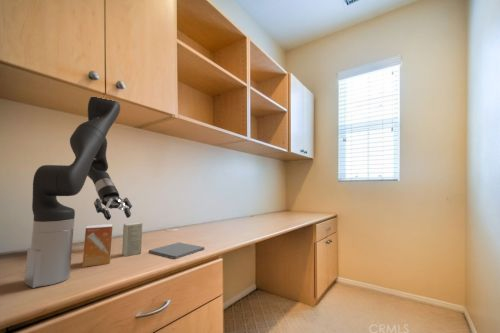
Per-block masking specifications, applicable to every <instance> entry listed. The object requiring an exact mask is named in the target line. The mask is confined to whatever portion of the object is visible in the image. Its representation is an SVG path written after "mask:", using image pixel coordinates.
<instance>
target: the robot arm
mask: <svg viewBox="0 0 500 333" xmlns="http://www.w3.org/2000/svg"><path fill="white" fill-rule="evenodd" d="M116 101H117V100H115V101H112V100H107V99H102V98H97V97H91V96H90V98H89V99H88V104H87V121H84V122H82V123H80V124H79V125H78V126H77V127H76V128H75V130H74V131H73V133H72V134H71V136H70V138H69V145H70V148H71V150H72V152H73V154H74V156H75V159H74V161H73V162H72V163H71V164H69V165H65V164H64V165H63V164H60V165H57V164H56V165H55V164H45V165H41V166H39V167H38V168H37V169H36V170H35V173H34V175H33V180H32V202H31V203H32V204H31V210H32V214H33V220H32V221H33V222H32V233H31V243H30V247H28V248H27V254H26V261H25V262H26V264H25V273H24V274H25V275H24V282H23V283H24V284H25V285H27V286H29V287H30V288H31V289H34V288H39V287H45V286H51V285H55V284H58V283H62V282H64V281H66V280H68V279H69V278H70V276H71V269H72V266H71V265H72V253H73V239H74V227H75V216H76V215H75V214H76V211H75V209H74V208H73V207H69V206H66V205H64V204H62V203H60V202H59V201H58V199H57V197H72V196H76V195H78V194H79V193H80V192H81V190H83V187H84V185H85V182H86V180H87V178H89V179H90V180H91V181H92V183H93V185H94V188H95V191H96V193H97V196H98V198H96V199H95V200H94V202H93V205H94V208H95V211H96V213H98V214H99V213H100V214H101V213H102V215H103V217H104V219H105V220H107V221H110V220H111V218H112V215H111V213H110V211H109V209H111V210H112V209H118V210H120V211H123V213H124V215H125V217H126V219H127V218H130V217H131V215H132V213H131V208H132V207H133V205H132V203H131V201H130V200H129V198H128V197H124V198H121V197H120V193H119V191H118V189H117V187H116V185H115V183H114V181H113V180H112V179H111V176H110V174H109V173H108V172H107V171H108V170H109V164H108V160H107V150H108V149H107V148H108V141H107V140H108V139H107V138H106V137H107V134H108V133H109V131H110V129H111V127H112V126H113V125H114V123H115V121H116V120H117V119H118V117H119V115H120V112H121V105H120V102H118V101H117V102H116ZM102 205H103V206H104V207H103V206H102ZM120 205H121V206H120Z"/></svg>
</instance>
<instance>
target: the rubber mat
mask: <svg viewBox="0 0 500 333" xmlns="http://www.w3.org/2000/svg"><path fill="white" fill-rule="evenodd" d="M204 250H205V246H199V245H195V244H188V243H184V242H176V243H175V242H174V243H170V244H166V245H164V246H159V247H156V248H152V249H149V250H148V253H149V254H152V255H153V254H154V255H158V256H162V257H165V258H170V259H174V260H176V259H180V258H183V257H187V256H189V255H192V254H195V253H198V252H202V251H204Z"/></svg>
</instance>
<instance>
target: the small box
mask: <svg viewBox="0 0 500 333" xmlns="http://www.w3.org/2000/svg"><path fill="white" fill-rule="evenodd" d="M112 240H113V223H106V224H105V223H104V224H94V225H93V224H92V225H86V226H85V232H84V244H83V245H84V246H83V253H82V254H83V255H82V268H86V267H91V266H101V265H107V264H108V265H109V264H110V263H111V255H112V254H111V253H112Z"/></svg>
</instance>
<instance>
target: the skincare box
mask: <svg viewBox="0 0 500 333" xmlns="http://www.w3.org/2000/svg"><path fill="white" fill-rule="evenodd" d="M142 239H143V222H139V221H138V222H129V223H123V227H122V251H121V254H122V256H124V257H128V256H129V257H130V256H134V255H139V254H142V243H143V242H142V241H143V240H142Z"/></svg>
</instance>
